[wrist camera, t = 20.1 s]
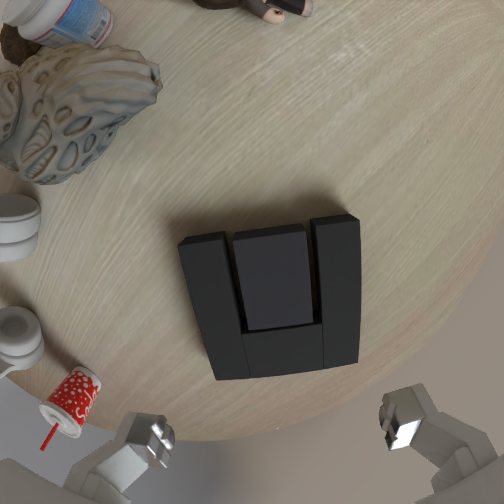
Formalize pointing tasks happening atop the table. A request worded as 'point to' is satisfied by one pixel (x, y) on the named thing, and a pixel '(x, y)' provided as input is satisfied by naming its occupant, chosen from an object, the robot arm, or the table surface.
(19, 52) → the decorative stone
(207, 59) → the table surface
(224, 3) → the figurine
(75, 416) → the beverage cup
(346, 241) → the base pad
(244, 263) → the pad
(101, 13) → the pill bottle
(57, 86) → the perforated clay sculpture
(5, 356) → the headphones
